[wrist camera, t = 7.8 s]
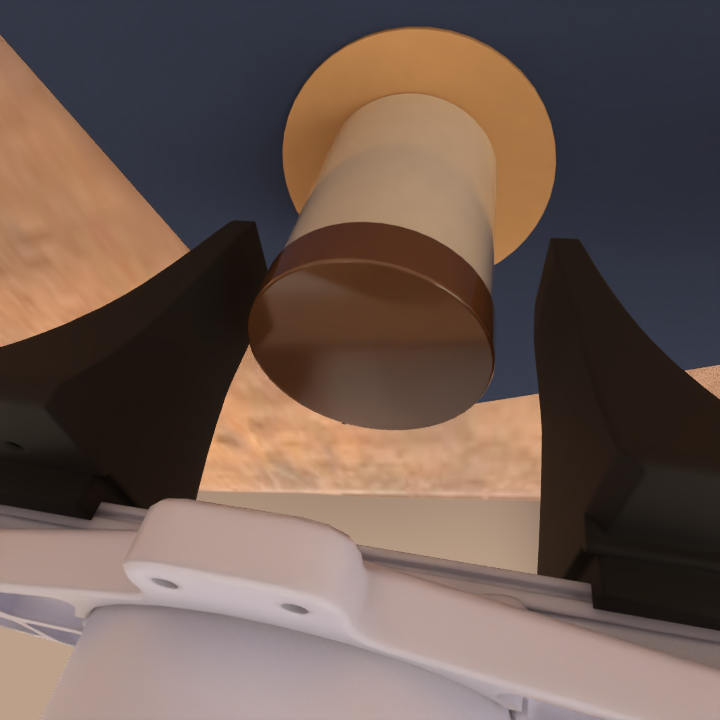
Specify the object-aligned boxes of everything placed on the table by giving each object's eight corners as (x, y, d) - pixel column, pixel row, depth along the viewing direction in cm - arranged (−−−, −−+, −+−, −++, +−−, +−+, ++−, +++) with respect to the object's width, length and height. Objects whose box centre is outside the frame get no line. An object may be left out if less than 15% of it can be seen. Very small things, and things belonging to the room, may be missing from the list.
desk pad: (780, 346, 18) (785, 359, 18) (345, 418, 27) (342, 427, 26) (790, -1151, 5) (811, -1223, 5) (-75, -66, 14) (-92, -60, 13)
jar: (524, 221, 16) (527, 414, 11) (374, 268, 18) (328, 442, 14) (462, 51, 13) (432, 221, 8) (292, 135, 15) (195, 302, 11)
